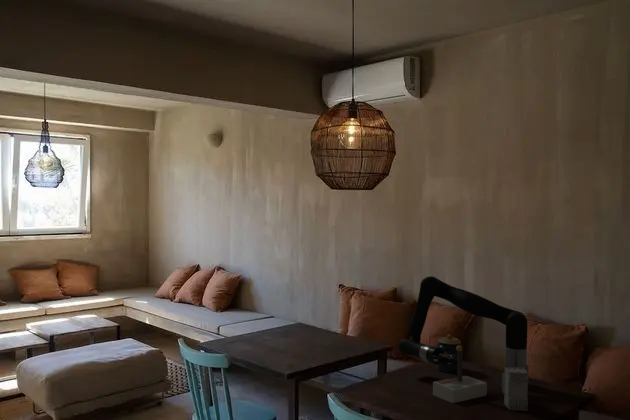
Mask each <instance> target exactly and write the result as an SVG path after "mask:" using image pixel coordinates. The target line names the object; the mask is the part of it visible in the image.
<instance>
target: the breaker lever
mask: <svg viewBox="0 0 630 420" xmlns="http://www.w3.org/2000/svg"><path fill="white" fill-rule="evenodd" d="M456 350H457V372H456V374H457V378H458V382H461V381H462V376H463V355H462V353H463V348H462V347H461V346H457V347H456Z"/></svg>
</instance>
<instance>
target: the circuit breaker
mask: <svg viewBox="0 0 630 420" xmlns="http://www.w3.org/2000/svg"><path fill="white" fill-rule="evenodd" d="M527 375H528V376H527ZM528 387H529V371H528V372H527V371H526V370H525V369H524V368H520V367H505V366H504V371H503V372H502V373H501V392H502V393H503V397H504V398H503V404H504V405H505V406H506V408H507V409H508V410H510V411H511V410H512V411H529V410H528V406H529V398H528Z"/></svg>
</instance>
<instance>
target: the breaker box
mask: <svg viewBox="0 0 630 420" xmlns="http://www.w3.org/2000/svg"><path fill="white" fill-rule="evenodd" d="M487 388H488V383H487V382H485V381H483V380H479V379H477V378H475V377H471V376H468V375H462V381H461V382H458V378H457V377H453V378H447V379H442V380H437V381H432V395H433V396H434V397H437V398H439V399H442V400H443V401H444V400H445V401H447V402H449V403H452V404H456V403H460V402H464V401H469V400H473V399H477V398H482V397H486V395H487V394H488V393H487V392H488V390H487Z"/></svg>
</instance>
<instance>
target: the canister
mask: <svg viewBox="0 0 630 420" xmlns="http://www.w3.org/2000/svg"><path fill="white" fill-rule="evenodd" d="M461 343H462V341H461V340H460V339H459V338H457V337H453V335H452V334H451V333H449V334H447V335H446V336H443V337H440V338H439V339H438V340H437V344H435V347H438V348H441V349H442V350H443V352H444V353H447V354H449V355H451V356H452V354H455V355H456V359H457V350H456V347H457V346H461V347H462V349H463V348H464V347H463V344H461ZM462 356H463V352H462ZM435 367H436V370H438V371H439V372H443V373H451V374H452V373H454V374H457V365H454V364H449V363H447V364H441V363H440V364H438V365H436V364H435Z"/></svg>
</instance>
